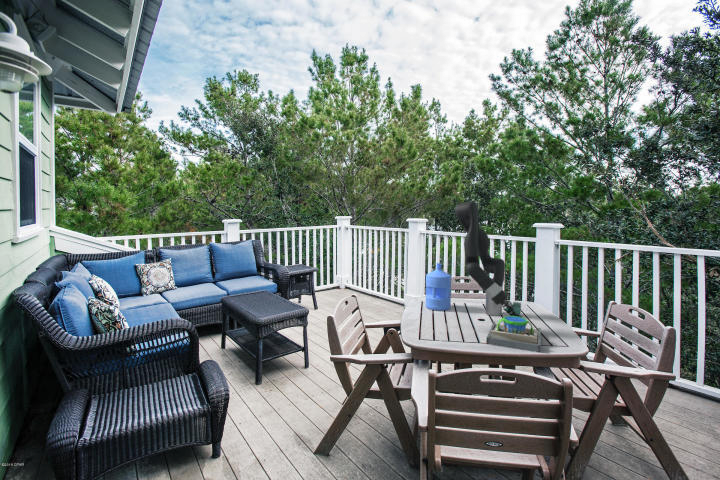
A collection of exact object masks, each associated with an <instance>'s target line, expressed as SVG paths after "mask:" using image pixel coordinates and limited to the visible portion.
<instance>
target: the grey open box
mask: <svg viewBox="0 0 720 480" xmlns="http://www.w3.org/2000/svg"><path fill="white" fill-rule="evenodd" d="M512 304H513V308H514V311H515V312H516V313H517V314H518V315H519V316H520V317H521V316H522V313H521V312H522V311H521V310H522V302H517V301H513V303H512ZM497 324H498V323H497ZM497 324H496V323H495V328H494V330H491V336H490V337H491V338H498V339H504V340H511V341H518V342H524V343H531V344H538V329H534V328H533V332H532V334H530V331H531V328H527V327H526V328H525V332H524V335H521V334H514V333H507V332H505V327H504V325H502V324H499V331H498V329H497ZM500 330H501V331H500ZM527 334H530V335H527Z"/></svg>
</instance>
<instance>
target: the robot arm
mask: <svg viewBox="0 0 720 480" xmlns="http://www.w3.org/2000/svg"><path fill="white" fill-rule="evenodd" d="M454 213H455V216H456V219H458V221H459V223H460V224H461V225H462V227H463V228H464V230H465V232H466V233H467V234H466V236H465V237H464V243H463V246H464V247H463V248H464V249H463V251H464V256H465V257H464V258H465V264H466V265H465V267H466V273H467V274H468V275H469V276H470V277H471V278H472V279H473V281H475V282H476V283H477V285H478V286H479V287H480V288H481V289H482V291H484V293H485V310H484V311H485V315H488V316H492V317H493V316H494V317H500V316H502V315H503V311H504V312H505V313H507V314H508V316H517V317H520V316H519V315H518V314H517V313H516V312H515V311H514V308H513V303H512V301H511V300H508V299H507V298H508V297H509V295H508V294H507V292H505V291H504V289H503V287H504V281H505V274H506V264H505V263H506V262H505V260H504V259H503V258H502V259H501V258H496V257H492V256H491V254H490V253H489V250H490V245H491V240H490V238H489V236H488V234H487V232H486V231H485V230H484V229H483V228H482V227H480V226H479V207H478V204H477V203H476V202H475V201H474V200H473V201H472V200H471V201H466V202H465V201H464V202H461V203H458V204H456V205H455V207H454ZM479 259H480V260H479ZM480 262H481V265H482V267H481V265H480ZM488 273H489V274H493V277H492V278H491V277H490V276H489V275H488ZM521 317H522V318H523V316H522V315H521Z"/></svg>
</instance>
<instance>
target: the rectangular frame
mask: <svg viewBox="0 0 720 480" xmlns="http://www.w3.org/2000/svg"><path fill="white" fill-rule="evenodd" d="M495 325H496V322H495V321H493V322H492V325H491V327H490V330H489V331H488V334H487V336H486V344H487V345H491V346H497V347H503V348H509V349H510V348H511V349H517V350H521V351H522V350H523V351H528V350H529V352H534V351H536V353H541V331H542V330H541V329H542V328H540V327H538V329H537V330H538V333H537V344H531V343H524V342H518V341H511V340H504V339H498V338H491V337H490V336H491V330H494V328H495Z"/></svg>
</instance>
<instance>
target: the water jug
mask: <svg viewBox="0 0 720 480" xmlns="http://www.w3.org/2000/svg"><path fill="white" fill-rule="evenodd" d="M435 267H436V269H435V270H433V271H431V272H427V274H426V276H425V281H426V282H425V285H426V286H425V287H426V288H425V308H426V309H429V310H431V311H437V312H438V311H440V312H441V311H447V310H448V311H449V310H450V309H451V307H452V304H451V302H452V301H451V298H452V297H451V296H452V274H450V273H447V272H446V271H444V270H442V263H439V262H438V263H435Z"/></svg>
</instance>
